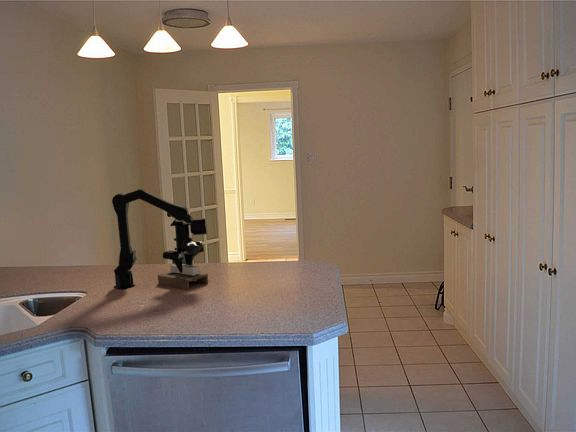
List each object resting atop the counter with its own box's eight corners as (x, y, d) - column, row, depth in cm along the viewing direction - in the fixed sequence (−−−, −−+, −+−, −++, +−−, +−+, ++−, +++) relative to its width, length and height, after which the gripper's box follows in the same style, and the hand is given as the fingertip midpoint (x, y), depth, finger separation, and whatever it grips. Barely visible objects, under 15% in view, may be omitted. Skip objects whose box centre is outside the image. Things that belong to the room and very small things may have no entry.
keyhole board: (187, 289, 213) (186, 280, 213) (158, 284, 224) (157, 275, 223) (208, 282, 223) (207, 273, 222) (179, 277, 233) (178, 269, 233)
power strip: (193, 282, 218) (192, 267, 218) (171, 278, 227) (170, 263, 226) (200, 280, 222) (199, 265, 221) (178, 276, 230) (177, 261, 229)
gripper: (178, 240, 209) (181, 278, 212) (211, 233, 224) (213, 268, 226) (160, 238, 216) (163, 275, 218) (193, 231, 231) (195, 266, 233)
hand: (185, 271), depth 224 cm, fingers closed on power strip, 4 cm apart
